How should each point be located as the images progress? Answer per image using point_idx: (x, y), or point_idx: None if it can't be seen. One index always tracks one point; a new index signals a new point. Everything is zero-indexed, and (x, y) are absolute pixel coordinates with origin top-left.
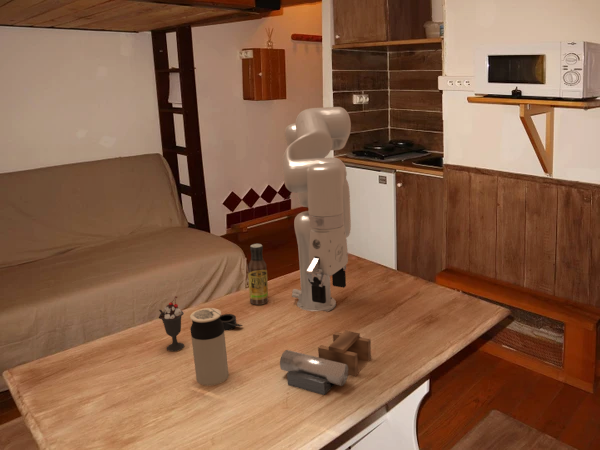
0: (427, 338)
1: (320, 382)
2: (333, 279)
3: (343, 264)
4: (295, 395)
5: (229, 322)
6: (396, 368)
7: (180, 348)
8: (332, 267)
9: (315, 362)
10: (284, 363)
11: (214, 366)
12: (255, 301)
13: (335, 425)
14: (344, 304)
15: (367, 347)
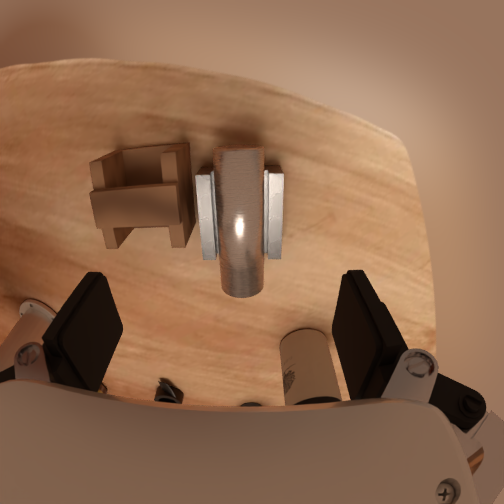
0: (10, 114)
1: (282, 182)
2: (110, 351)
3: (72, 418)
4: (292, 220)
5: (172, 396)
6: (111, 95)
7: (252, 404)
8: (399, 482)
9: (251, 219)
10: (263, 278)
11: (326, 357)
12: (103, 390)
13: (345, 113)
14: (15, 290)
15: (108, 159)
